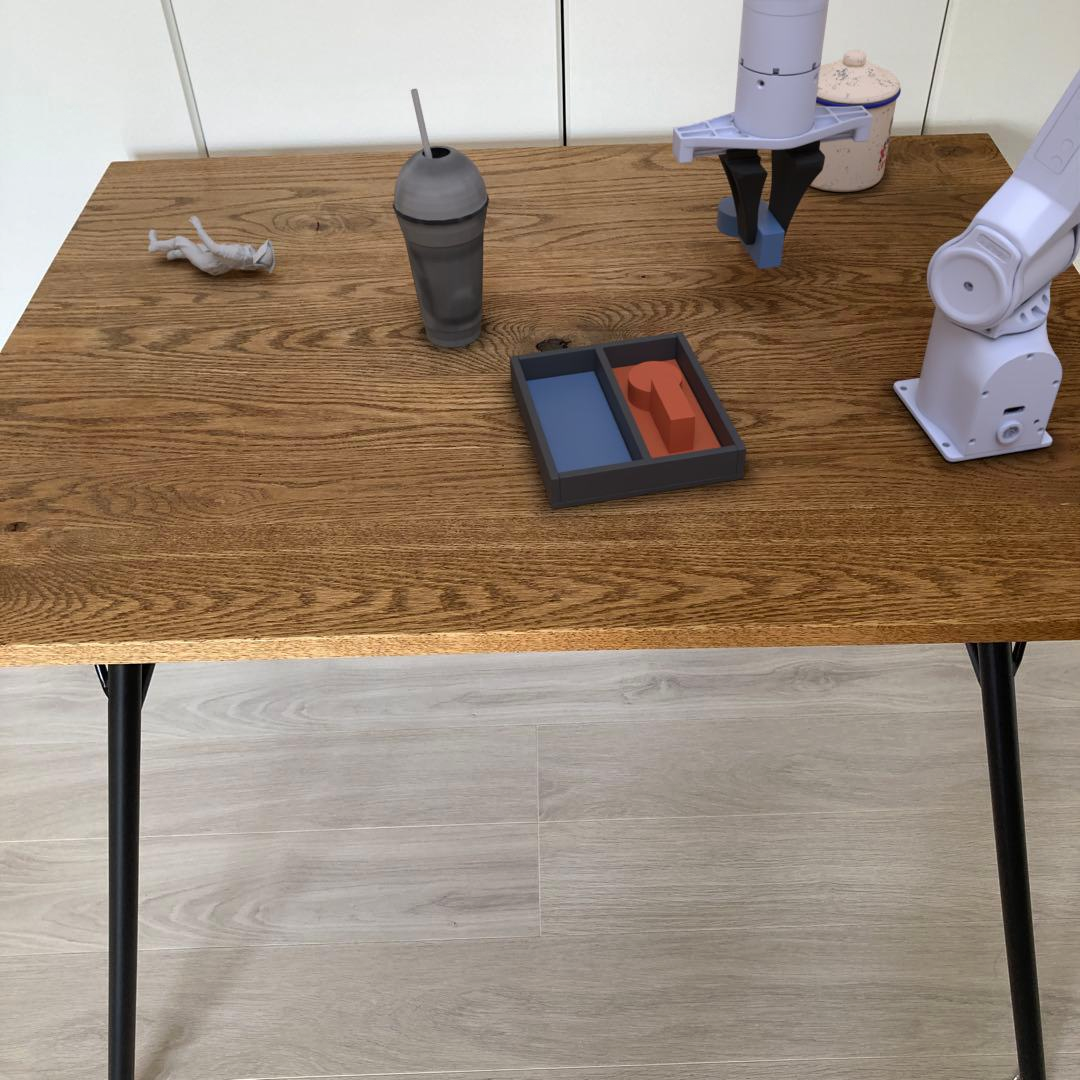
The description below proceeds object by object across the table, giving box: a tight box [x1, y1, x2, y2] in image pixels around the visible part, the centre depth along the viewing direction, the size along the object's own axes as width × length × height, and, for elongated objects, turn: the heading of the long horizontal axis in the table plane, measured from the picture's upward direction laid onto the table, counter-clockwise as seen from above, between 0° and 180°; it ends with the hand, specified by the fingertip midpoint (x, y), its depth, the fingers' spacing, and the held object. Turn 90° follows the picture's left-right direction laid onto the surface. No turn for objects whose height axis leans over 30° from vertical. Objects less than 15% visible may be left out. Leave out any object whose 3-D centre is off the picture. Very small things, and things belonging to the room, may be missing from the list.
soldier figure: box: [148, 215, 276, 276], centre depth 104 cm, size 8×5×12 cm
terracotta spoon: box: [628, 361, 695, 453], centre depth 85 cm, size 9×4×3 cm, turn 12°
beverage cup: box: [392, 88, 490, 348], centre depth 90 cm, size 7×7×20 cm
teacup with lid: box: [809, 49, 902, 193], centre depth 113 cm, size 12×9×12 cm
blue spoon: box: [716, 195, 785, 270], centre depth 93 cm, size 9×4×3 cm, turn 11°
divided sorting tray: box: [509, 331, 747, 510], centre depth 86 cm, size 15×14×3 cm
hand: (761, 236), depth 92 cm, fingers closed on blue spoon, 2 cm apart
